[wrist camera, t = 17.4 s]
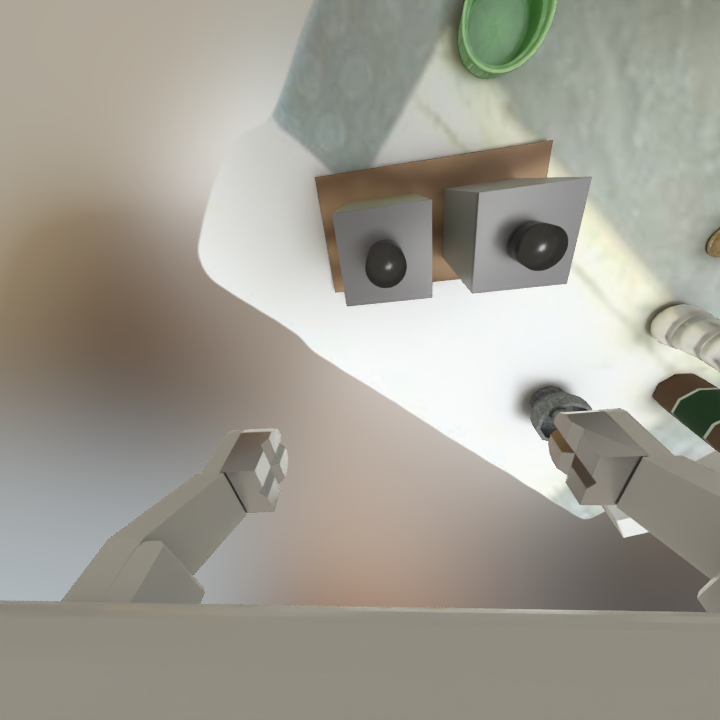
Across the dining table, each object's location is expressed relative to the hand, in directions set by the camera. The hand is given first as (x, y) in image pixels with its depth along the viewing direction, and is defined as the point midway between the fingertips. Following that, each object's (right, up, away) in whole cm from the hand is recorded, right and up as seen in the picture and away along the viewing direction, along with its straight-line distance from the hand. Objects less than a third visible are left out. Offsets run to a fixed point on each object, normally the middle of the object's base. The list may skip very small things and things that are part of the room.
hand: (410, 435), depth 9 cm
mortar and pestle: (+35, -5, +49) cm, 61 cm away
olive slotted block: (+2, +21, +34) cm, 40 cm away
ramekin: (+13, +39, +24) cm, 48 cm away
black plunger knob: (+2, +21, +34) cm, 40 cm away
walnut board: (+8, +22, +34) cm, 41 cm away
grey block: (+15, +22, +32) cm, 41 cm away
